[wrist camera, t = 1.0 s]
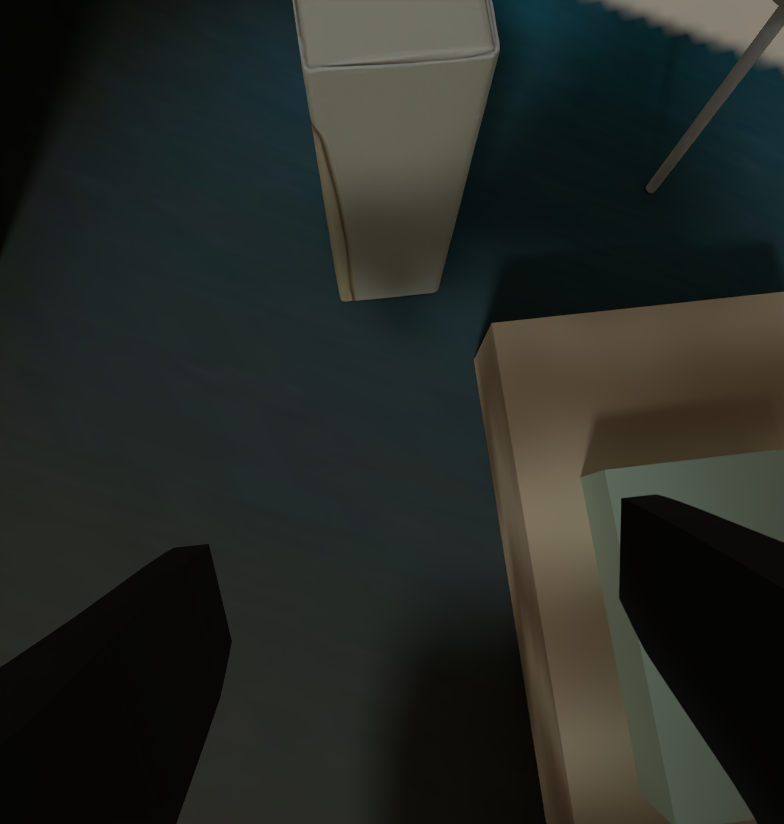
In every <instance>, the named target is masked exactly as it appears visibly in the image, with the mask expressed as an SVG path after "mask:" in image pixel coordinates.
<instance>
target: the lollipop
mask: <svg viewBox="0 0 784 824" xmlns="http://www.w3.org/2000/svg"><path fill="white" fill-rule="evenodd" d="M773 1H774V2H775V3H776V4H777V5H779V7H778V8H777V9H776V10H775V12H774V13H773V15H772V16H771V17H770V19H769V20H768V21H767V23H766V24H765V25H764V27H763V28H762V30H761V31H760V32H759V34H758V35H757V37H756V38H755V39H754V40H753V42H752V43H751V44H750V46H749V47H748V49H747V50H746V51H745V53H744V54H743V55H742V57H741V58H740V59H739V61H738V62H737V63H736V65H735V66H734V68H733V69H732V70H731V72H730V73H729V74H728V76H727V77H726V78H725V80H724V81H723V83H722V84H721V85H720V87H719V88H718V89H717V91H716V92H715V93H714V95H713V96H712V97H711V99H710V100H709V102H708V103H707V104H706V106H705V107H704V108H703V110H702V111H701V112H700V114H699V115H698V117H697V118H696V119H695V121H694V122H693V123H692V125H691V126H690V127H689V129H688V130H687V131H686V133H685V134H684V136H683V137H682V138H681V140H680V141H679V142H678V144H677V145H676V146H675V148H674V149H673V150H672V152H671V153H670V155H669V156H668V157H667V159H666V160H665V161H664V163H663V164H662V165H661V167H660V168H659V170H658V171H657V172H656V174H655V175H654V176H653V178H652V179H651V180H650V182H649V183H648V184H647V186H646V190H647V191H648V192H649V193H654V192H655V191H656V190H657V189H658V187H659V186H660V185H661V183H662V182H663V181H664V180H665V178H666V177H667V176H668V174H669V173H670V172H671V170H672V169H673V168H674V167H675V165H676V164H677V163H678V161H679V160H680V159H681V158H682V156H683V155H684V154H685V152H686V151H687V150H688V148H689V147H690V146H691V145H692V143H693V142H694V141H695V139H696V138H697V137H698V136H699V134H700V133H701V132H702V130H703V129H704V128H705V126H706V125H707V124H708V123H709V121H710V120H711V119H712V117H713V116H714V115H715V114H716V112H717V111H718V110H719V108H720V107H721V106H722V105H723V103H724V102H725V101H726V99H727V98H728V97H729V95H730V94H731V93H732V92H733V90H734V89H735V88H736V86H737V85H738V84H739V83H740V81H741V80H742V79H743V77H744V76H745V75H746V73H747V72H748V71H749V70H750V68H751V67H752V66H753V64H754V63H755V62H756V61H757V59H758V58H759V57H760V55H761V54H762V53H763V51H764V50H765V49H766V47H767V46H768V45H769V44H770V42H771V41H772V40H773V39H774V37H775V36H776V35H777V33H778V32H779V31H780V29H781V28H782V27H783V25H784V0H773Z"/></svg>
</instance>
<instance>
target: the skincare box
mask: <svg viewBox="0 0 784 824" xmlns="http://www.w3.org/2000/svg"><path fill="white" fill-rule="evenodd" d="M293 7H294V15H295V22H296V29H297V36H298V43H299V49H300V56H301V63H302V70H303V75H304V81H305V87H306V93H307V99H308V105H309V111H310V117H311V123H312V130H313V136H314V142H315V149H316V155H317V161H318V167H319V173H320V179H321V185H322V192H323V198H324V204H325V211H326V217H327V223H328V229H329V235H330V241H331V247H332V253H333V259H334V265H335V271H336V277H337V283H338V289H339V294H340V299H341V300H342V301H344V302H345V301H357V300H369V299H379V298H389V297H399V296H409V295H418V294H427V293H434V292H436V291H437V290H438V289H439V285H440V281H441V277H442V273H443V269H444V265H445V261H446V257H447V253H448V250H449V246H450V242H451V238H452V234H453V230H454V226H455V223H456V219H457V215H458V211H459V207H460V203H461V199H462V195H463V191H464V187H465V183H466V179H467V175H468V172H469V168H470V164H471V160H472V156H473V152H474V148H475V144H476V140H477V137H478V133H479V129H480V125H481V122H482V118H483V114H484V110H485V106H486V102H487V98H488V94H489V90H490V86H491V83H492V79H493V74H494V71H495V67H496V63H497V59H498V55H499V51H500V43H499V38H498V31H497V26H496V20H495V14H494V7H493V3H492V0H293Z"/></svg>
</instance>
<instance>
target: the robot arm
mask: <svg viewBox="0 0 784 824" xmlns="http://www.w3.org/2000/svg"><path fill="white" fill-rule="evenodd" d="M619 599H620V602H621V604H622V606H623V608H624V610H625V612H626V614H627V616H628V618H629V620H630V623H631V625H632V627H633V629H634V631H635V633H636V635H637V637H638V638H639V640H640V642H641V644H642V646H643V648H644V650H645V652H646V653H647V655H648V656H649V658H650V660H651V661H652V663H653V664H654V666H655V667H656V669H657V670H658V672H659V673H660V675H661V676H662V678H663V679H664V681H665V682H666V684H667V685H668V687H669V688H670V690H671V691H672V693H673V694H674V696H675V697H676V699H677V700H678V702H679V703H680V705H681V706H682V708H683V709H684V711H685V712H686V714H687V715H688V717H689V718H690V720H691V721H692V723H693V724H694V726H695V727H696V729H697V730H698V732H699V733H700V735H701V736H702V738H703V739H704V741H705V742H706V744H707V745H708V746H709V748H710V749H711V751H712V752H713V754H714V755H715V757H716V758H717V760H718V761H719V763H720V764H721V766H722V767H723V769H724V770H725V772H726V773H727V775H728V776H729V778H730V779H731V781H732V782H733V784H734V786H735V787H736V789H737V790H738V792H739V794H740V795H741V797H742V798H743V800H744V802H745V803H746V805H747V807H748V808H749V810H750V811H751V813H752V815H753V816H754V818H755V820H756V822H757V824H784V542H782V541H779V540H777V539H774V538H771V537H769V536H766V535H764V534H761V533H759V532H756V531H754V530H751V529H749V528H746V527H744V526H741V525H739V524H736V523H734V522H731V521H729V520H726V519H724V518H721V517H719V516H716V515H714V514H711V513H709V512H706V511H704V510H701V509H699V508H696V507H693V506H691V505H688V504H685V503H683V502H680V501H677V500H674V499H671V498H668V497H665V496H661V495H657V494H654V495H645V496H636V497H627V498H621V530H620V574H619ZM231 643H232V640H231V636H230V632H229V628H228V623H227V619H226V615H225V611H224V606H223V602H222V598H221V594H220V589H219V585H218V581H217V577H216V573H215V568H214V564H213V560H212V556H211V551H210V547H209V544H204V545H195V546H186V547H177V548H173V549H171V550H169V551H168V552H166V553H164V554H163V555H161V556H160V557H158V558H156V559H155V560H154V561H152V562H151V563H149V564H148V565H146V566H145V567H143V568H142V569H141V570H139V571H138V572H136V573H135V574H134V575H132V576H131V577H129V578H128V579H127V580H125V581H124V582H123V583H121V584H120V585H118V586H117V587H116V588H114V589H113V590H112V591H110V592H109V593H107V594H106V595H105V596H103V597H102V598H101V599H99V600H98V601H96V602H95V603H94V604H92V605H91V606H89V607H88V608H87V609H85V610H84V611H83V612H81V613H80V614H78V615H77V616H76V617H74V618H73V619H71V620H70V621H68V622H67V623H65V624H64V625H62V626H61V627H60V628H58V629H57V630H55V631H54V632H52V633H51V634H49V635H48V636H46V637H45V638H43V639H42V640H40V641H39V642H37V643H36V644H34V645H33V646H31V647H30V648H28V649H27V650H26V651H24V652H23V653H21V654H20V655H18V656H17V657H15V658H14V659H12V660H11V661H9V662H8V663H6V664H5V665H3V666H1V667H0V824H176V823H177V820H178V817H179V814H180V811H181V809H182V806H183V803H184V800H185V797H186V794H187V792H188V789H189V786H190V783H191V780H192V777H193V775H194V772H195V769H196V766H197V763H198V760H199V758H200V755H201V752H202V749H203V746H204V743H205V740H206V738H207V735H208V732H209V729H210V726H211V723H212V720H213V717H214V714H215V711H216V708H217V705H218V702H219V699H220V695H221V691H222V687H223V682H224V678H225V673H226V668H227V663H228V658H229V653H230V648H231Z"/></svg>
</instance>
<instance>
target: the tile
mask: <svg viewBox="0 0 784 824" xmlns="http://www.w3.org/2000/svg"><path fill="white" fill-rule="evenodd" d="M580 478H581V483H582V488H583V493H584V499H585V504H586V509H587V514H588V520H589V525H590V530H591V535H592V541H593V546H594V551H595V556H596V561H597V567H598V572H599V577H600V582H601V588H602V593H603V598H604V603H605V608H606V614H607V619H608V624H609V629H610V635H611V640H612V645H613V650H614V655H615V661H616V666H617V671H618V676H619V682H620V687H621V692H622V697H623V702H624V708H625V713H626V718H627V723H628V729H629V734H630V739H631V744H632V749H633V755H634V760H635V765H636V770H637V776H638V781H639V786H640V791H641V794H642V795H643V796H644V797H645V798H646V799H647V800H648V801H649V802H650V803H651V804H652V805H653V806H654V807H655V808H656V809H657V810H658V811H659V812H660V813H661V814H662V815H663V816H664V817H665V818H666V819H667V820H668V821H669V822H670V824H725V823H732V822H739V821H746V820H754V819H755V818H754V816H753V815H752V813H751V811H750V810H749V808H748V807H747V805H746V803H745V802H744V800H743V798H742V797H741V795H740V794H739V792H738V790H737V789H736V787H735V786H734V784H733V782H732V781H731V779H730V778H729V776H728V775H727V773H726V772H725V770H724V769H723V767H722V766H721V764H720V763H719V761H718V760H717V758H716V757H715V755H714V754H713V752H712V751H711V749H710V748H709V746H708V745H707V744H706V742H705V741H704V739H703V738H702V736H701V735H700V733H699V732H698V730H697V729H696V727H695V726H694V724H693V723H692V721H691V720H690V718H689V717H688V715H687V714H686V712H685V711H684V709H683V708H682V706H681V705H680V703H679V702H678V700H677V699H676V697H675V696H674V694H673V693H672V691H671V690H670V688H669V687H668V685H667V684H666V682H665V681H664V679H663V678H662V676H661V675H660V673H659V672H658V670H657V669H656V667H655V666H654V664H653V663H652V661H651V660H650V658H649V656H648V655H647V653H646V652H645V650H644V648H643V646H642V644H641V642H640V640H639V638H638V637H637V635H636V633H635V631H634V629H633V627H632V625H631V623H630V620H629V618H628V616H627V614H626V612H625V610H624V608H623V606H622V604H621V602H620V599H619V574H620V530H621V498H627V497H636V496H645V495H654V494H657V495H661V496H665V497H668V498H671V499H674V500H677V501H680V502H683V503H685V504H688V505H691V506H693V507H696V508H699V509H701V510H704V511H706V512H709V513H711V514H714V515H716V516H719V517H721V518H724V519H726V520H729V521H731V522H734V523H736V524H739V525H741V526H744V527H746V528H749V529H751V530H754V531H756V532H759V533H761V534H764V535H766V536H769V537H771V538H774V539H777V540H779V541H782V542H784V449H779V450H771V451H762V452H753V453H745V454H736V455H728V456H719V457H711V458H702V459H693V460H685V461H676V462H668V463H659V464H651V465H642V466H634V467H625V468H616V469H608V470H602V471H599V472H596V473H593V474H590V475H586V476H583V477H580Z"/></svg>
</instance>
